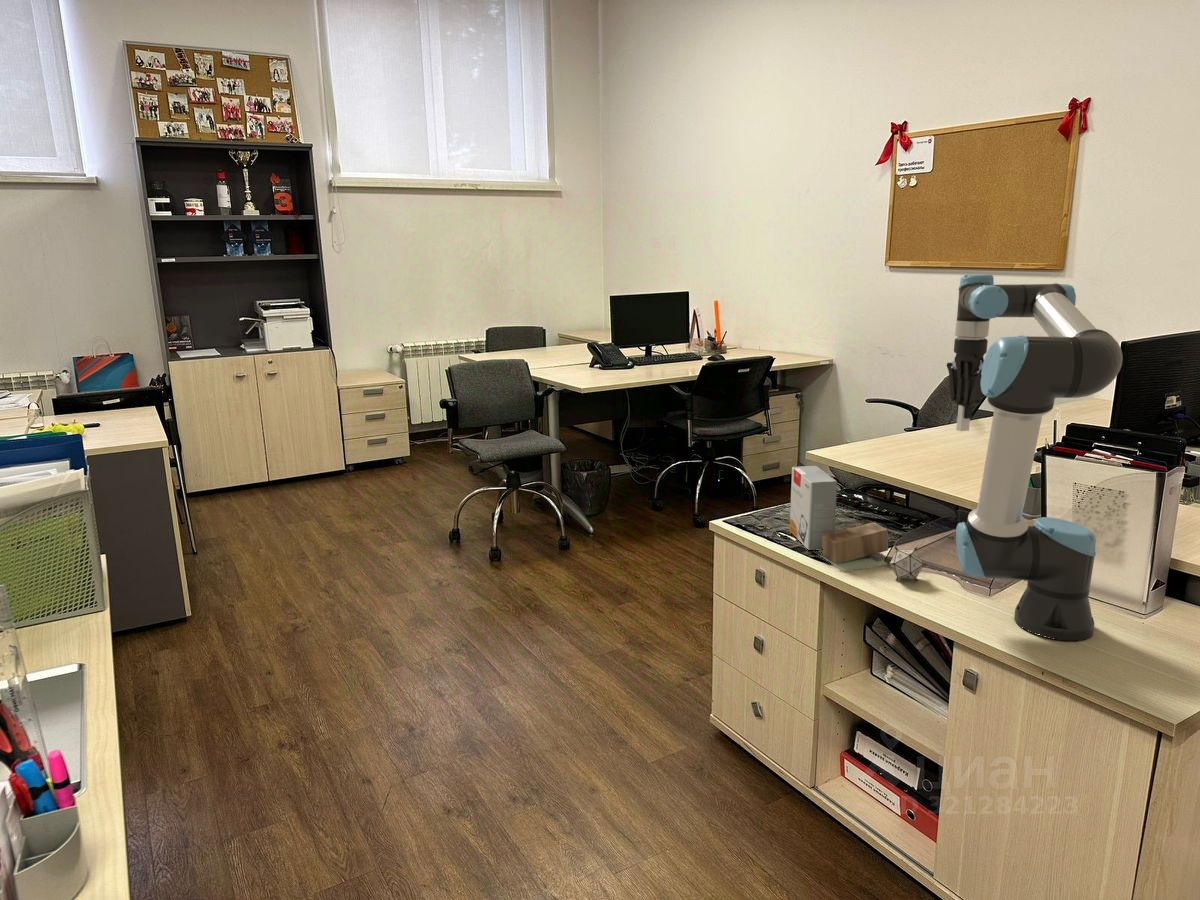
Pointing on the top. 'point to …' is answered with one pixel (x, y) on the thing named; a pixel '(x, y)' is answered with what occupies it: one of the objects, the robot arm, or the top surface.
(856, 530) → the walnut block
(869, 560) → the pale green square plate
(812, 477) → the hard drive box
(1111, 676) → the top surface
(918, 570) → the game die
